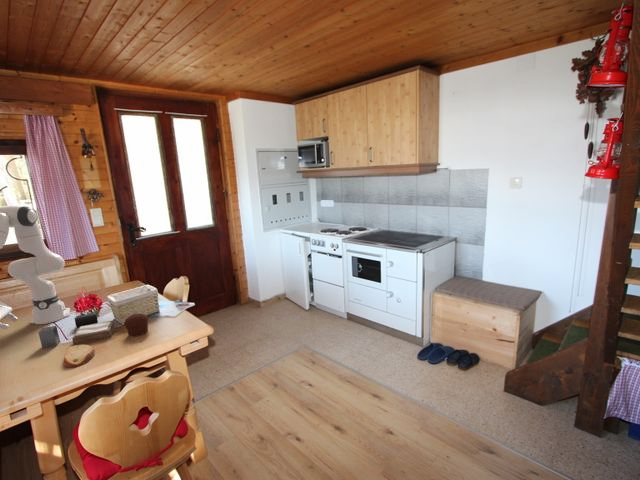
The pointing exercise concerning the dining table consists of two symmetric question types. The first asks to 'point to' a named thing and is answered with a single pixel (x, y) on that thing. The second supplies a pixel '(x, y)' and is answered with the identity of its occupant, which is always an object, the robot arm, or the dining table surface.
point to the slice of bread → (78, 355)
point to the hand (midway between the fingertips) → (12, 323)
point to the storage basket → (134, 302)
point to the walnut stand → (93, 332)
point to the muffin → (136, 324)
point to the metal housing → (49, 337)
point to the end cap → (86, 319)
